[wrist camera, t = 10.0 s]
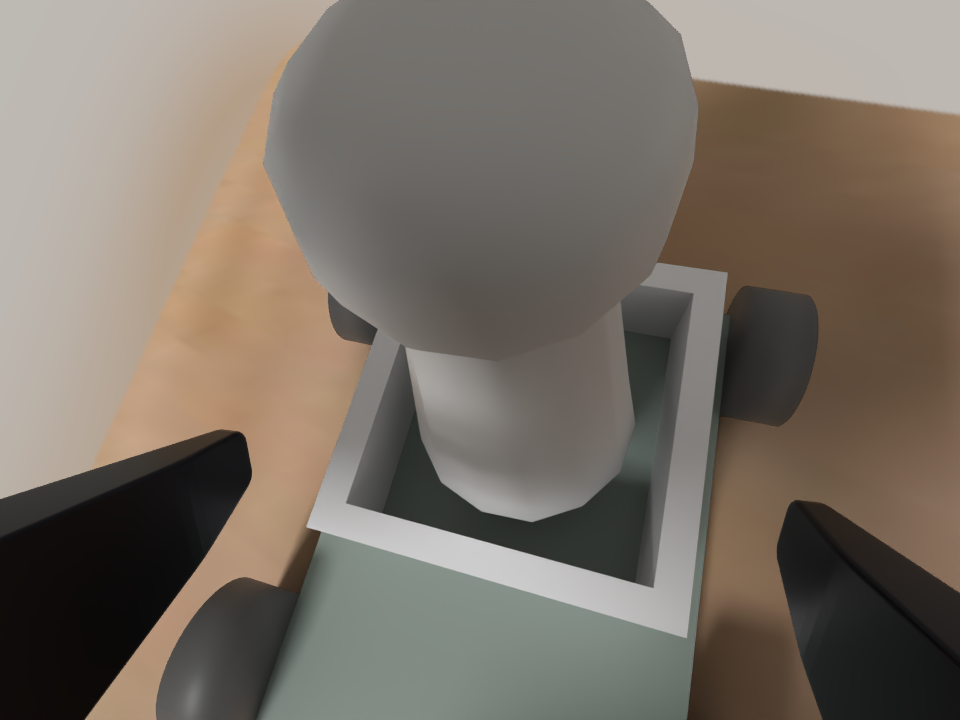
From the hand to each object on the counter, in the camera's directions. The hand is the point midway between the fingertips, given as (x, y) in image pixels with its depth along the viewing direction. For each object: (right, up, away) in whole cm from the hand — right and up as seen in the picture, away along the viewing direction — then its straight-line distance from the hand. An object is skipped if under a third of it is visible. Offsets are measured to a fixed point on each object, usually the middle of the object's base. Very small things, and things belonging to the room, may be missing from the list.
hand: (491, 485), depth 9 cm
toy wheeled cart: (+1, -3, +8) cm, 9 cm away
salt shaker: (+1, 0, +8) cm, 8 cm away
